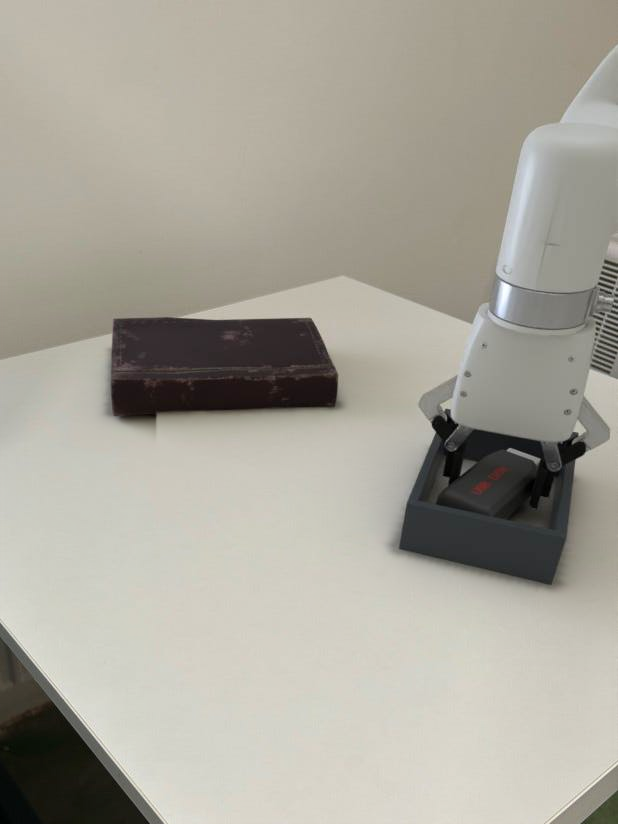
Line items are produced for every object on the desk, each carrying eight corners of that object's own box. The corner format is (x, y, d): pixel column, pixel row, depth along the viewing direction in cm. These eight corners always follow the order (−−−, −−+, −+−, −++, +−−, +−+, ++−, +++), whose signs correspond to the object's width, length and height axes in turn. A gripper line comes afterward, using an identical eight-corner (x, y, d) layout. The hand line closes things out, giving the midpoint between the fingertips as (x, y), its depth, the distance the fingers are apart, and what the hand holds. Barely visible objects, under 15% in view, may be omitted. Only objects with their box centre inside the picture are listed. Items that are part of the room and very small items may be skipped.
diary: (335, 414, 93) (340, 373, 90) (113, 421, 91) (110, 380, 88) (307, 348, 108) (310, 311, 105) (115, 353, 106) (112, 315, 103)
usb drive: (433, 513, 73) (438, 487, 72) (495, 462, 81) (501, 437, 79) (487, 537, 71) (493, 510, 69) (546, 481, 78) (554, 456, 76)
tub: (436, 456, 86) (445, 408, 82) (563, 482, 82) (578, 432, 78) (397, 556, 72) (406, 503, 68) (548, 592, 68) (566, 538, 65)
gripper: (659, 300, 65) (595, 491, 75) (437, 271, 70) (407, 454, 81) (661, 334, 59) (592, 536, 70) (420, 300, 64) (389, 492, 75)
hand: (493, 490), depth 75 cm, fingers closed on usb drive, 6 cm apart
